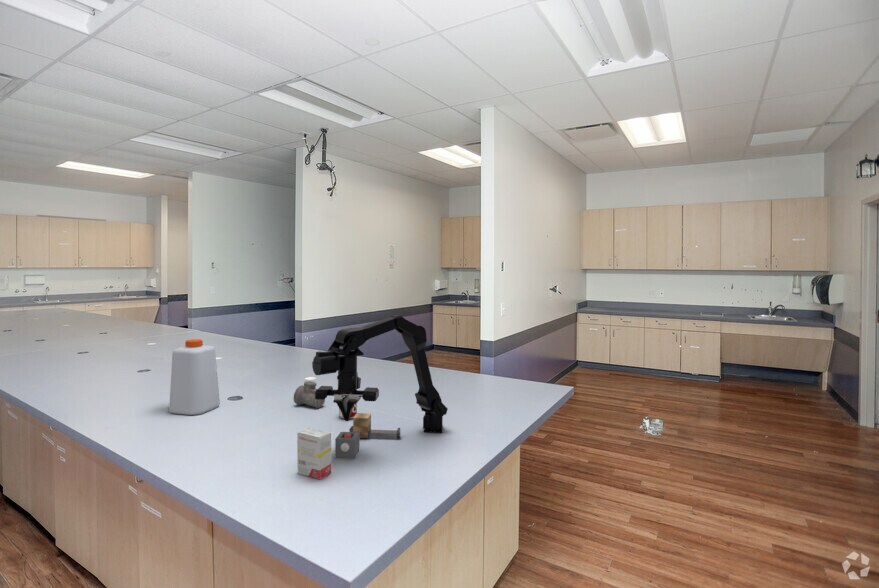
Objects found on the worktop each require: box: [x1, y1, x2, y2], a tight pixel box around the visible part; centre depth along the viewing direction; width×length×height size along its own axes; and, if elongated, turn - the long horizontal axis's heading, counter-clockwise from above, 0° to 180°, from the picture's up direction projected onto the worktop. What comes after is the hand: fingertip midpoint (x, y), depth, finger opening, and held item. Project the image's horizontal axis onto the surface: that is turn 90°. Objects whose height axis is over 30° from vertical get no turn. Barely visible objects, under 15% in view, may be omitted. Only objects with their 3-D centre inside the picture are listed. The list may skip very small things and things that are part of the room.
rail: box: [348, 425, 401, 441], centre depth 153 cm, size 17×3×3 cm, turn 87°
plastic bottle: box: [168, 338, 221, 416], centre depth 179 cm, size 15×15×28 cm
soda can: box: [338, 393, 358, 420], centre depth 172 cm, size 7×7×12 cm
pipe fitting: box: [293, 380, 326, 409], centre depth 186 cm, size 12×8×10 cm
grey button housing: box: [334, 431, 361, 460], centre depth 138 cm, size 6×6×6 cm
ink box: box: [296, 427, 332, 480], centre depth 125 cm, size 9×5×12 cm, turn 63°
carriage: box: [352, 412, 372, 439], centre depth 153 cm, size 5×5×7 cm
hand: (347, 420), depth 138 cm, fingers closed
